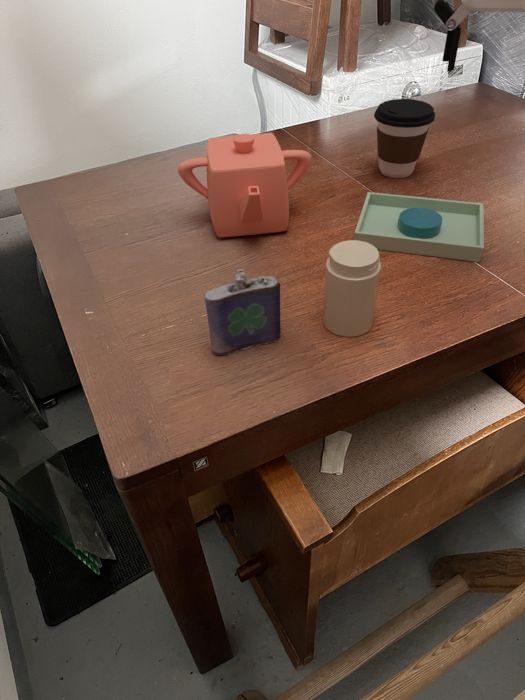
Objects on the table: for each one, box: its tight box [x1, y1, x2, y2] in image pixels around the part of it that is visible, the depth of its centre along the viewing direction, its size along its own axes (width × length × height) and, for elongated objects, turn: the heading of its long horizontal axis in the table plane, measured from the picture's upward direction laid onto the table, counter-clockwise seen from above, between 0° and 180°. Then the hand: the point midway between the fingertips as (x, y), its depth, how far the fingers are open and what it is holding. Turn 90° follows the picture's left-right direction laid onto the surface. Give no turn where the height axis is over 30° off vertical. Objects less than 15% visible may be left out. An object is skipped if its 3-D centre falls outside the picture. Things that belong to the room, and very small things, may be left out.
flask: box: [204, 269, 282, 356], centre depth 61 cm, size 9×3×11 cm, turn 109°
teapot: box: [177, 132, 312, 238], centre depth 82 cm, size 20×22×14 cm
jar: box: [322, 239, 382, 338], centre depth 64 cm, size 7×7×11 cm
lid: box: [398, 208, 442, 239], centre depth 82 cm, size 7×7×2 cm
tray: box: [353, 191, 485, 263], centre depth 82 cm, size 19×14×2 cm
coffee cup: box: [373, 98, 436, 179], centre depth 96 cm, size 11×11×12 cm
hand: (495, 69), depth 57 cm, fingers open, 9 cm apart
